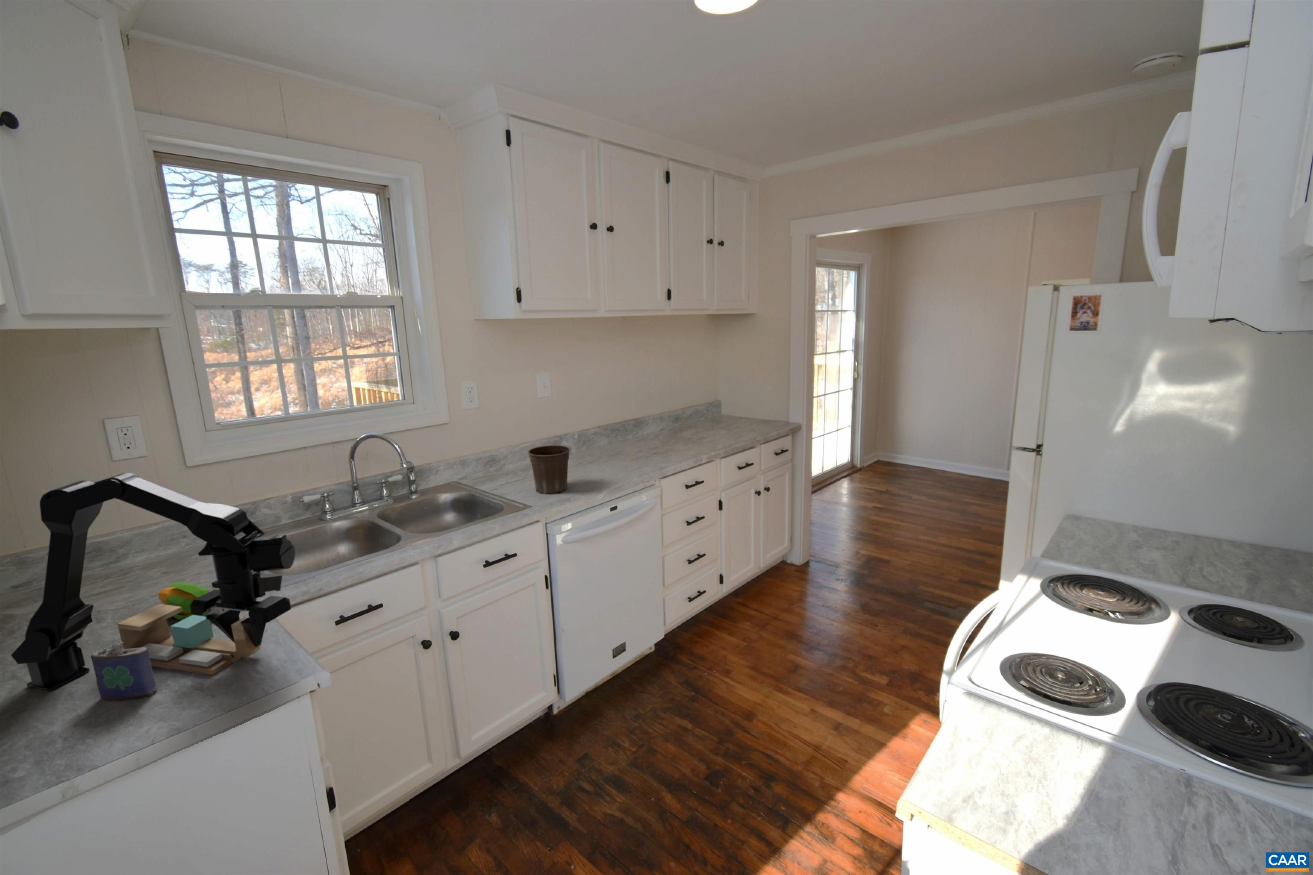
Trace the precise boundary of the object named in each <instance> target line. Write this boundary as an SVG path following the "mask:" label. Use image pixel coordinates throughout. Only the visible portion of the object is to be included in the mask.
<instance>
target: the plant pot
mask: <svg viewBox="0 0 1313 875" xmlns="http://www.w3.org/2000/svg"><path fill="white" fill-rule="evenodd" d="M570 451H571V448H570V447H569V446H565V445H540V446H536V447H534V448H530V449H529V450H527V454H528V455H529V460H530V463H531V466H532V468H531V469H532V474H533V478H534V486H535V491H536V492H538V494H543V493H547V494H546V495H549V494H548V493H555V494H557V493H558V492H559V493H562V491H563V492H564V490H565V489H566V490H567V489H568V470H569V469H568V468H569V465H568V464H569V459H570ZM566 490H565V491H566Z"/></svg>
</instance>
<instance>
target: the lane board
mask: <svg viewBox="0 0 1313 875" xmlns="http://www.w3.org/2000/svg"><path fill="white" fill-rule="evenodd" d="M180 612H182V607H179V606H171V605H165V604H163V603H162V604H161V603H160V604H157V605H155V606H153V607H150V608H148V609H145V610H144V611H142V612H139V613H137V614H135V615H133V616H131V617H129V618H126V619H124V620H122V621H120V622H118V623H117V628H118V632H119V636H120V641H121V642H124V644H123V645H122V646H123V648H122V649H132V648H140V647H142V646H144V645H146V644H148V643H151V644H158V645H165V646H172V647H177V646H173V645H172V643H173V642H174V640H173V636H171V632H170V628H169V624H168V620H167V619H169V618H171V617H172V616H174V615H176V614H178V615H179V614H180ZM172 618H173V617H172ZM179 648H183V653H181V654H180V655H178V656H176V657H174V658H172V659H171V660H169V661H165V660H159V659H152V658H150V662H151V667H156V668H163V669H169V670H170V669H171V670H175V671H176V670H177V671H184V672H189V673H195V674H201V675H202V674H203V675H208V676H214V675H216V674H217V673H218V672H221V671H222V670H224V669H225V668H227V667H228V666H230V665H231V664H233V663H235V662H236V661H238V660H240V659H241V658H242V657H237V656H232V655H231V654H227V653H222V659H220V660H218V661H217V662H215V663H213V664H212V665H210V666H208V667H206V666H199V665H192V664H185V663H180V661H179V658H180V657H182V656H184V655H185V654H187V653H189V652H191V651H192V650H198V649H191V648H184V647H179ZM200 651H205V650H200ZM208 652H213V651H208ZM215 653H220V652H215Z"/></svg>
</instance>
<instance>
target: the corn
mask: <svg viewBox="0 0 1313 875" xmlns="http://www.w3.org/2000/svg"><path fill="white" fill-rule="evenodd" d="M210 591H211V590H209V589H208V588H205V587H202V586H201V585H200V586H199V585H198V584H195V583H190V582H173V583H171V587H166V588H163V589H161V590H160V591H159V592H158V600H159V601H160V602H161V603H162V604H163V605H171V606H179V607H182V612H180V613H178V614H176V615H174V616H172V618H175V619H177V620H179V621H182V620H184V619H186V618H188V617H190V616H192V614H191V609H190V605H191V603H192V601H193V600H194V599H196V598H198V597H200V596H202V595H204V594H206V593H208V592H210ZM208 615H209V611H208V609H207V612H206V613H205V614H204V615H202V616H205V617H206V616H208ZM197 616H200V615H197Z"/></svg>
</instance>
